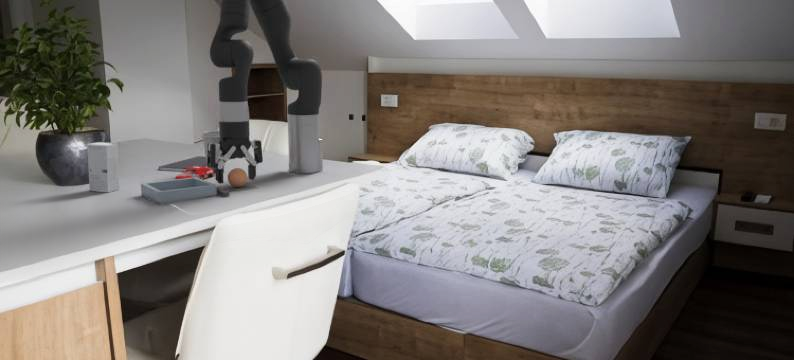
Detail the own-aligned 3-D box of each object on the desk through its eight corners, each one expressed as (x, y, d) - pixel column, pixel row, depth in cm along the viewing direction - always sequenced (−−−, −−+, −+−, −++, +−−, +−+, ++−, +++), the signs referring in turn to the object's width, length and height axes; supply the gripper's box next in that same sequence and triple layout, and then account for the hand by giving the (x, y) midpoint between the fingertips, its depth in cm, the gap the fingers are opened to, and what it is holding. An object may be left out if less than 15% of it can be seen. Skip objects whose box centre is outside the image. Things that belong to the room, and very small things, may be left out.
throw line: (200, 185, 169) (200, 180, 169) (229, 197, 155) (229, 192, 155) (196, 186, 169) (196, 181, 168) (224, 198, 155) (224, 192, 154)
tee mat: (245, 184, 172) (245, 182, 172) (258, 189, 166) (258, 187, 166) (217, 187, 167) (217, 186, 167) (229, 193, 161) (229, 191, 161)
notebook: (198, 160, 213) (158, 171, 193) (198, 156, 212) (158, 166, 192) (232, 162, 209) (195, 174, 189) (232, 158, 209) (195, 168, 189)
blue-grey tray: (196, 188, 166) (196, 177, 165) (216, 197, 156) (216, 185, 156) (141, 195, 157) (140, 183, 157) (159, 205, 148) (158, 192, 147)
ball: (242, 184, 170) (241, 165, 169) (250, 187, 166) (250, 168, 165) (224, 186, 167) (223, 167, 166) (232, 189, 163) (232, 170, 162)
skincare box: (88, 191, 162) (84, 144, 159) (101, 187, 166) (98, 141, 164) (108, 193, 160) (104, 145, 158) (121, 189, 164) (117, 142, 162)
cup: (221, 169, 194) (219, 130, 192) (232, 172, 189) (230, 132, 187) (199, 172, 189) (197, 131, 187) (210, 175, 184) (208, 134, 182)
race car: (187, 187, 169) (186, 172, 168) (170, 185, 171) (169, 171, 170) (218, 178, 181) (217, 164, 180) (202, 177, 183) (201, 163, 182)
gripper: (253, 116, 170) (254, 176, 173) (201, 119, 161) (204, 182, 164) (266, 119, 164) (267, 180, 167) (213, 121, 156) (215, 186, 159)
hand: (236, 181), depth 166 cm, fingers open, 8 cm apart
